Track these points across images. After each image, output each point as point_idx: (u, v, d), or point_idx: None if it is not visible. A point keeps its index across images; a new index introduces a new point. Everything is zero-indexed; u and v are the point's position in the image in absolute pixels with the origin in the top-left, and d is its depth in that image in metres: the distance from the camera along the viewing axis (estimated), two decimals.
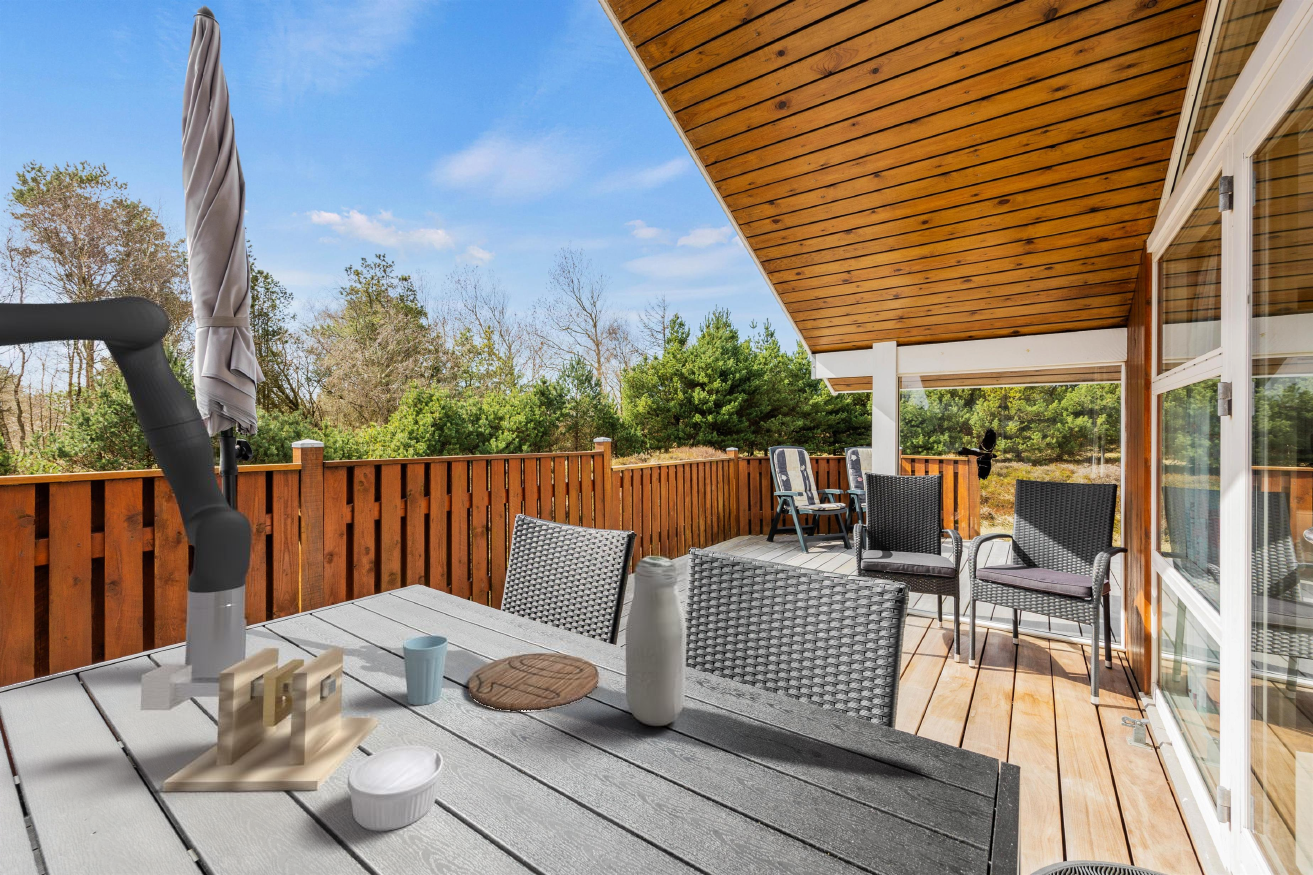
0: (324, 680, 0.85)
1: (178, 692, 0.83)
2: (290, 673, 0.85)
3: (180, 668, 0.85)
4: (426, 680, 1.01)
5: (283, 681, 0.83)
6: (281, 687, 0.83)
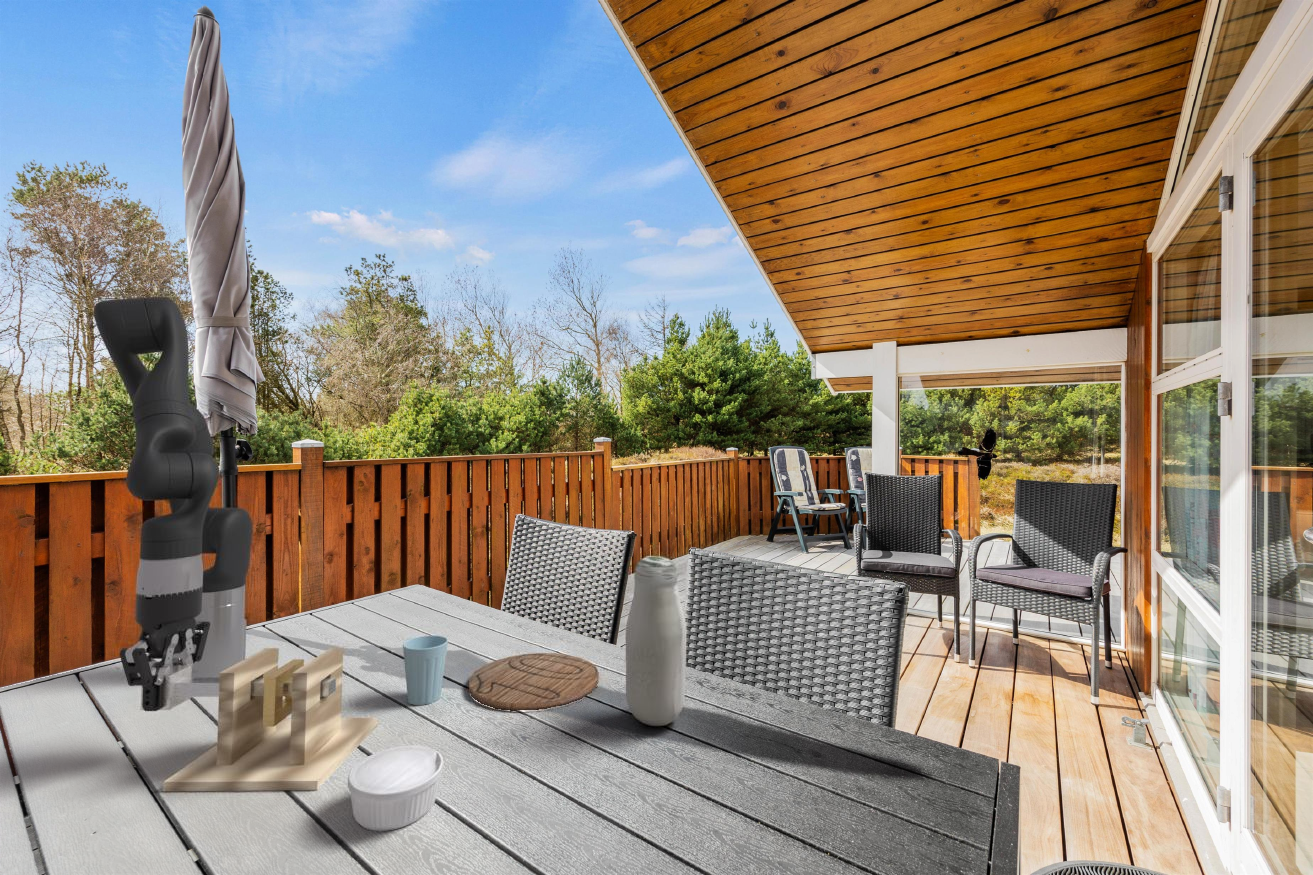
0: (324, 680, 0.85)
1: (178, 692, 0.83)
2: (290, 673, 0.85)
3: (180, 668, 0.85)
4: (426, 680, 1.01)
5: (283, 681, 0.83)
6: (281, 687, 0.83)
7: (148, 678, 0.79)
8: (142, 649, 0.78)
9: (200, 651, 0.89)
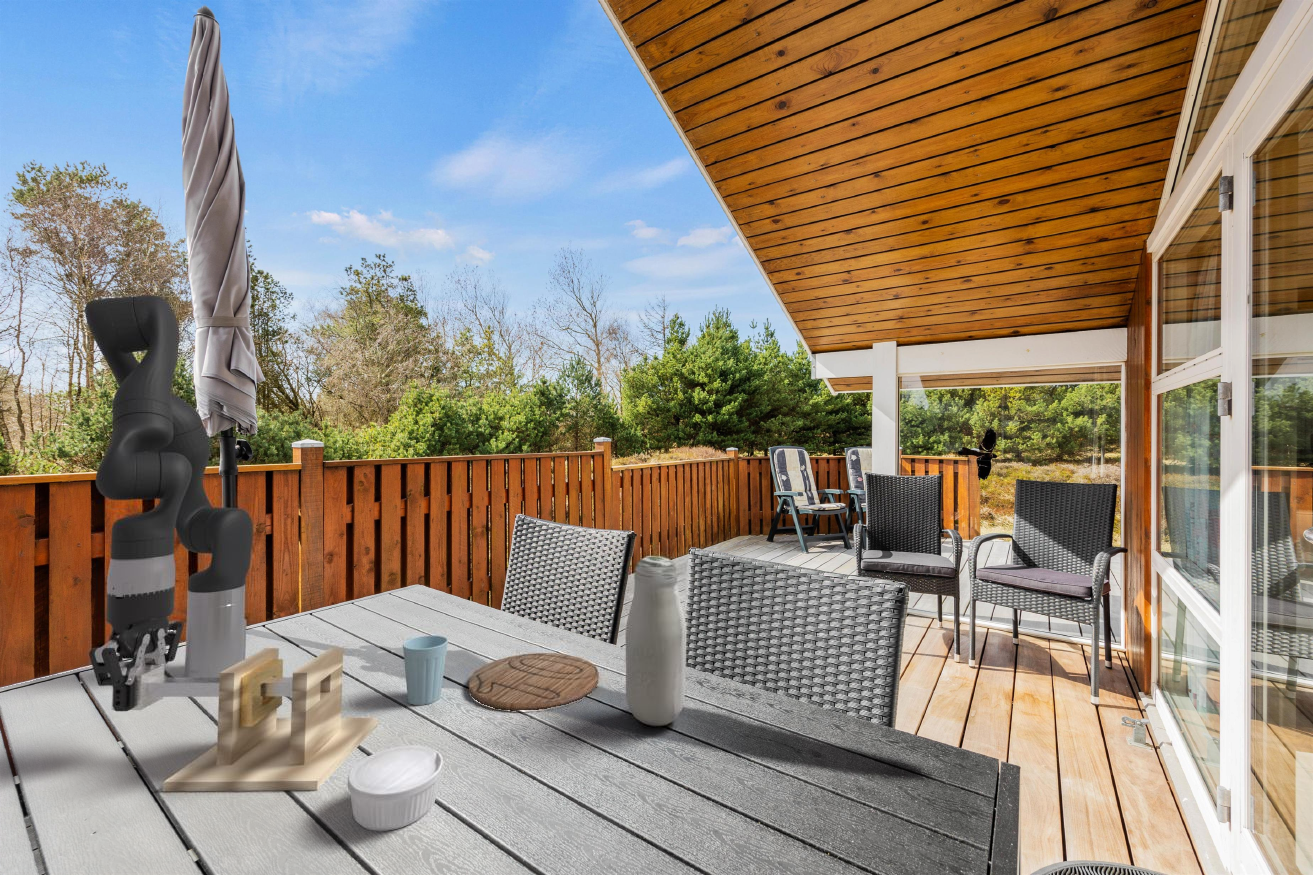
0: None
1: (150, 692, 0.83)
2: (268, 673, 0.85)
3: (152, 668, 0.84)
4: (426, 680, 1.01)
5: (261, 681, 0.83)
6: (259, 687, 0.83)
7: (118, 678, 0.79)
8: (112, 649, 0.78)
9: (173, 651, 0.89)
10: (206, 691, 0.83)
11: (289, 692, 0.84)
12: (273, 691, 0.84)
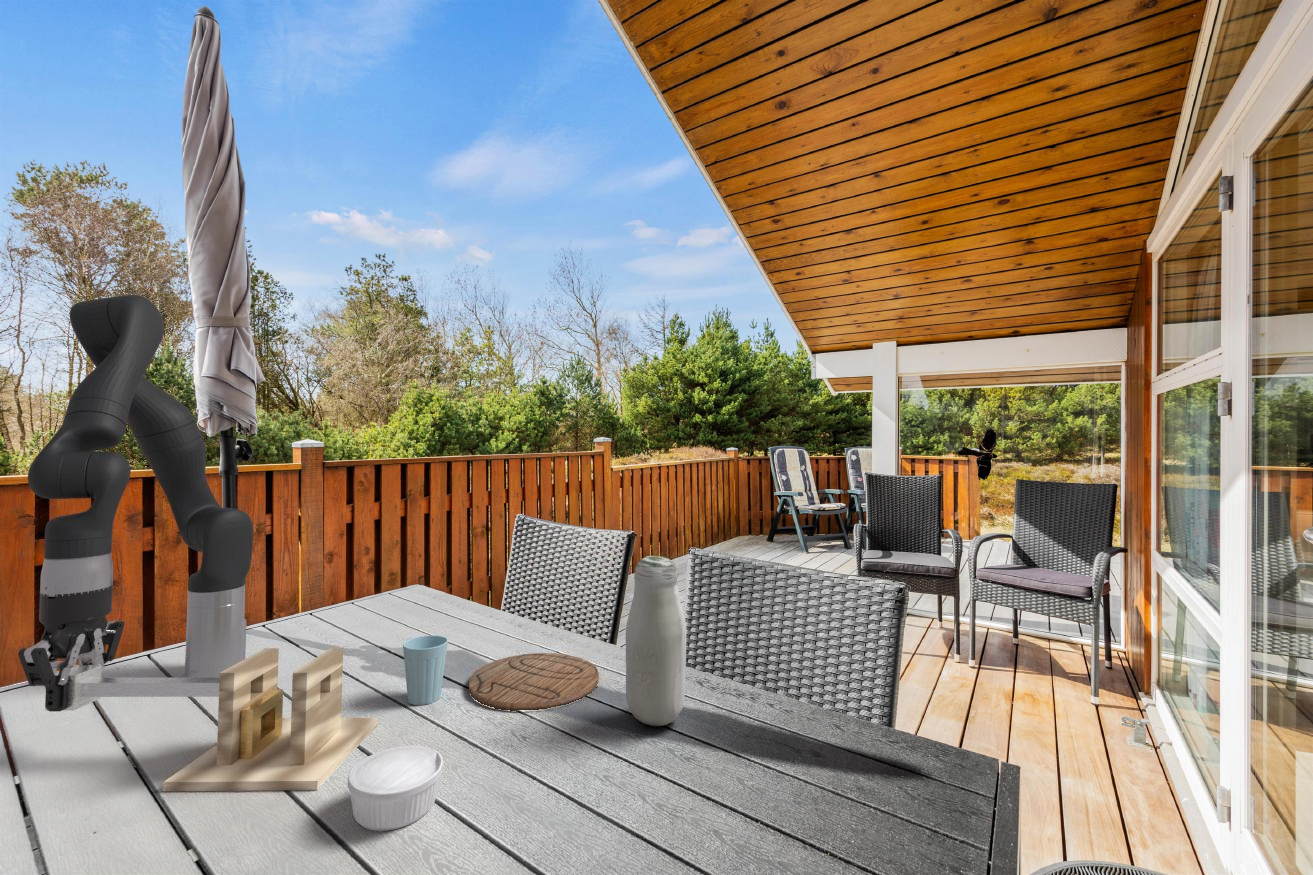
0: None
1: (84, 692, 0.83)
2: (268, 704, 0.85)
3: (88, 668, 0.84)
4: (426, 680, 1.01)
5: (261, 712, 0.83)
6: (259, 719, 0.83)
7: (49, 678, 0.79)
8: (42, 649, 0.78)
9: (112, 651, 0.88)
10: (141, 691, 0.83)
11: None
12: (209, 691, 0.83)
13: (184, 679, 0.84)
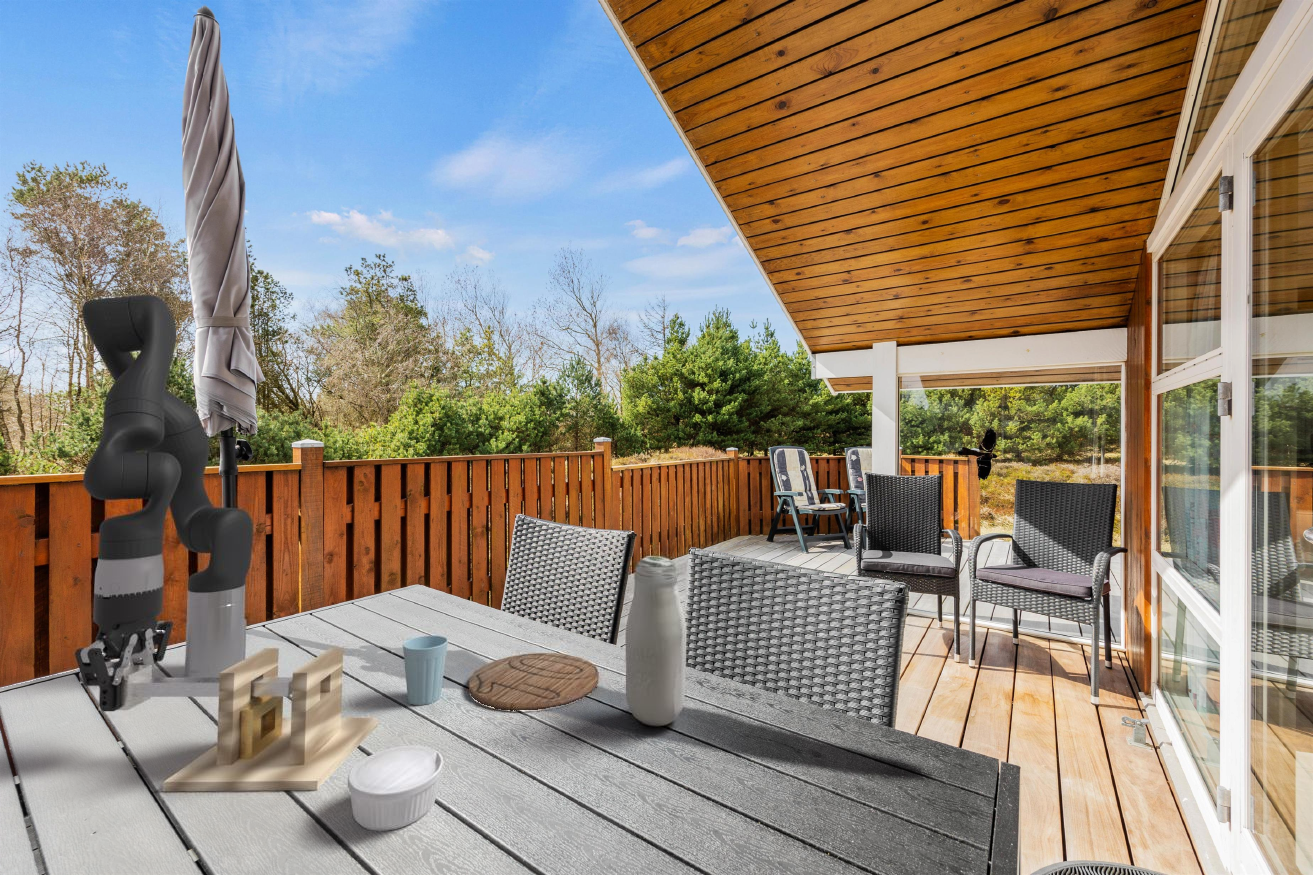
0: (284, 680, 0.85)
1: (137, 692, 0.83)
2: (268, 704, 0.85)
3: (139, 668, 0.84)
4: (426, 680, 1.01)
5: (261, 712, 0.83)
6: (259, 719, 0.83)
7: (104, 678, 0.79)
8: (98, 649, 0.78)
9: (162, 651, 0.89)
10: (193, 691, 0.83)
11: (276, 692, 0.84)
12: (260, 691, 0.84)
13: None
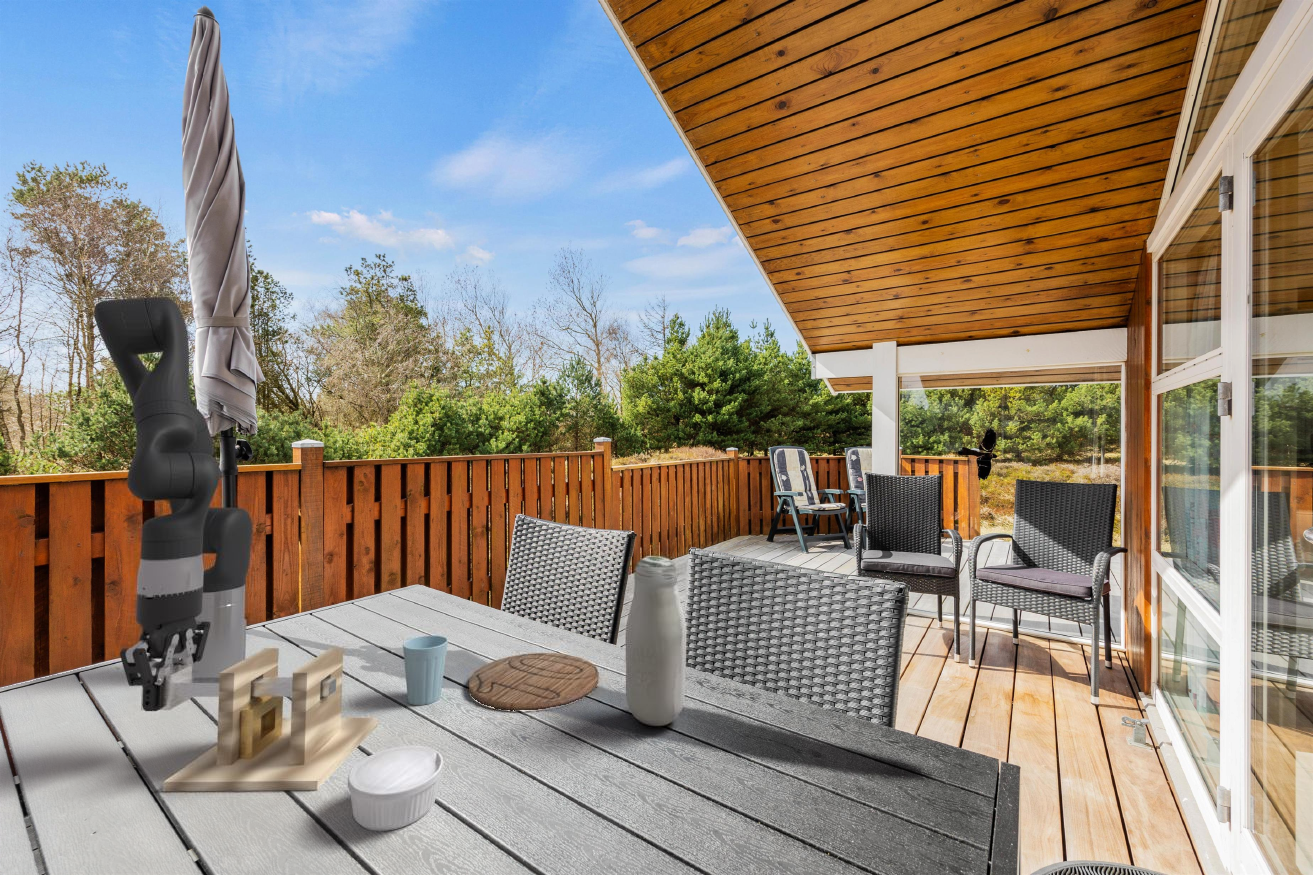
0: (324, 680, 0.85)
1: (178, 692, 0.83)
2: (268, 704, 0.85)
3: (180, 668, 0.85)
4: (426, 680, 1.01)
5: (261, 712, 0.83)
6: (259, 719, 0.83)
7: (148, 678, 0.79)
8: (142, 649, 0.78)
9: (200, 651, 0.89)
10: None
11: None
12: None
13: (275, 679, 0.85)
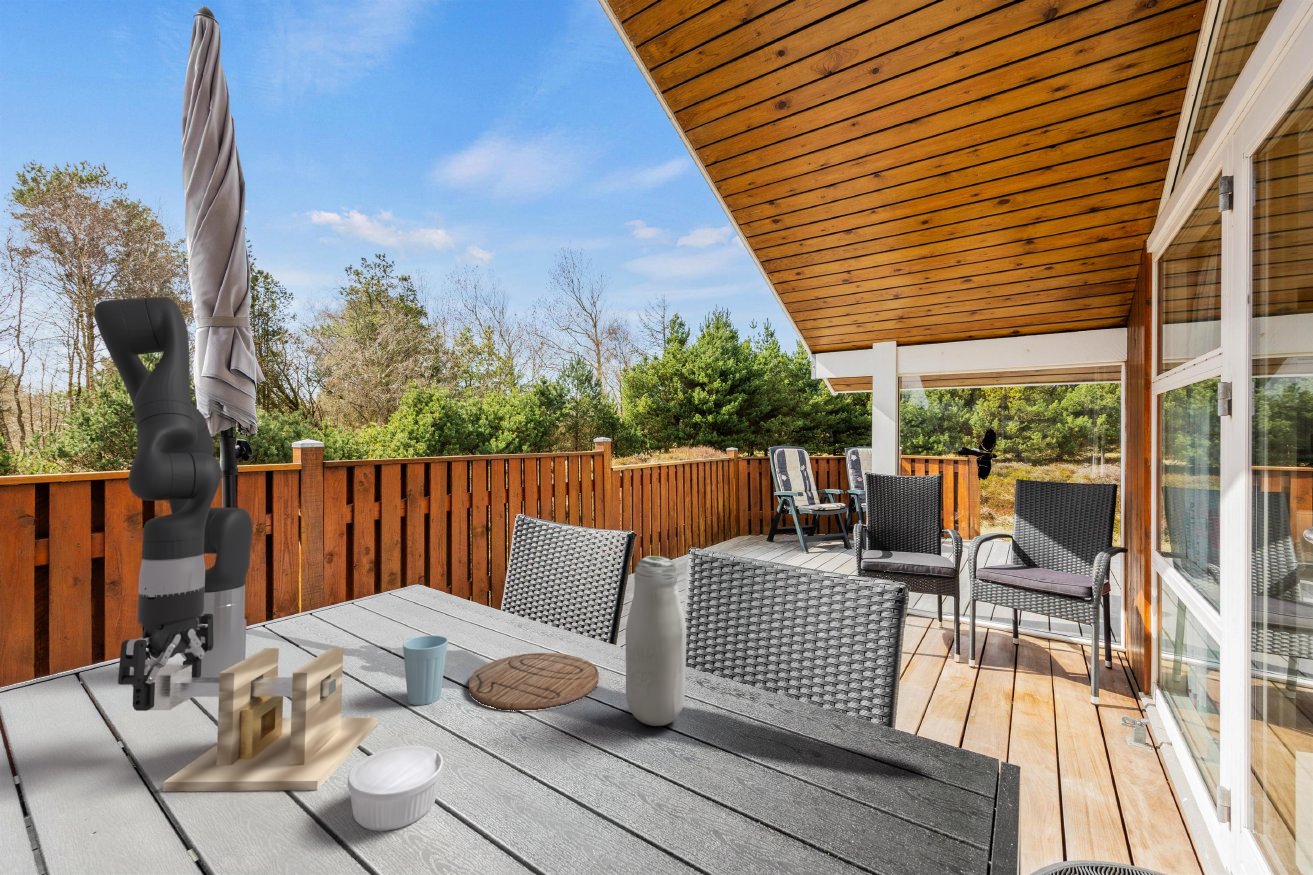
0: (324, 680, 0.85)
1: (178, 692, 0.83)
2: (268, 704, 0.85)
3: (180, 668, 0.85)
4: (426, 680, 1.01)
5: (261, 712, 0.83)
6: (259, 719, 0.83)
7: (138, 677, 0.77)
8: (144, 641, 0.78)
9: (210, 641, 0.91)
10: None
11: None
12: None
13: (275, 679, 0.85)
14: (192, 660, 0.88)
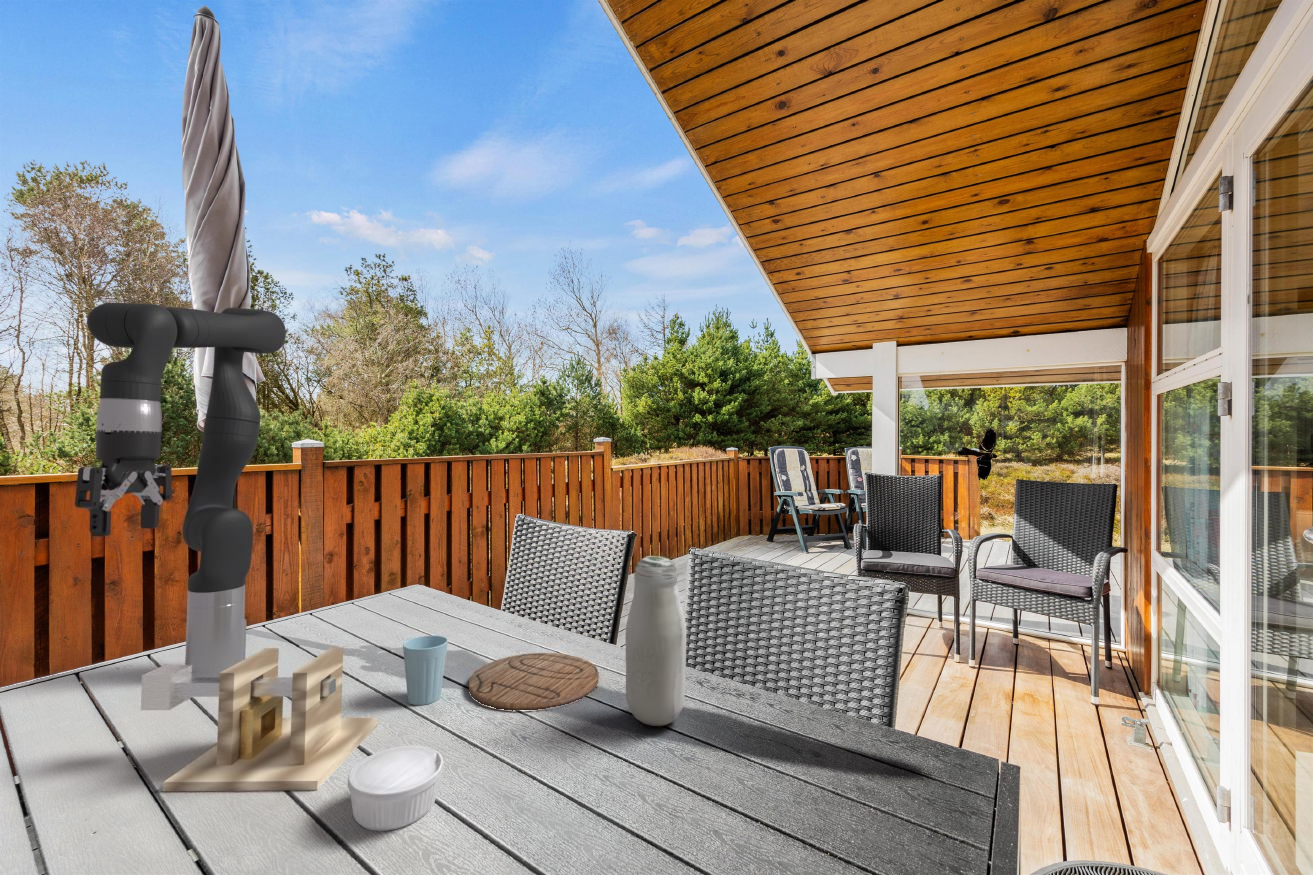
0: (324, 680, 0.85)
1: (178, 692, 0.83)
2: (268, 704, 0.85)
3: (180, 668, 0.85)
4: (426, 680, 1.01)
5: (261, 712, 0.83)
6: (259, 719, 0.83)
7: (94, 501, 0.83)
8: (100, 469, 0.83)
9: (168, 491, 0.96)
10: None
11: None
12: None
13: (275, 679, 0.85)
14: (150, 505, 0.93)
